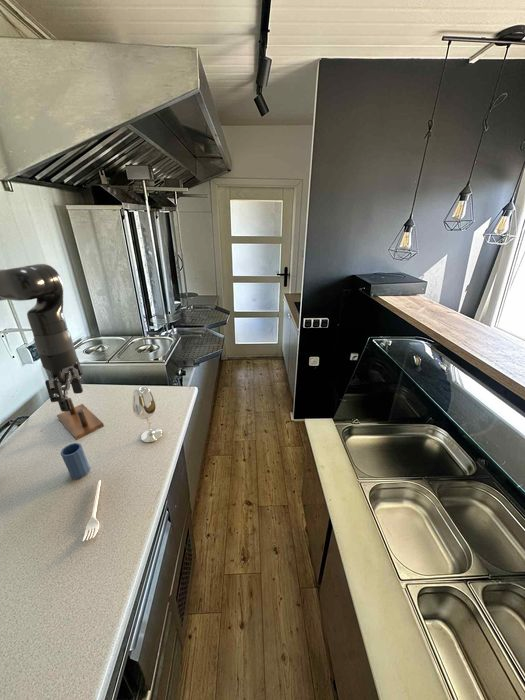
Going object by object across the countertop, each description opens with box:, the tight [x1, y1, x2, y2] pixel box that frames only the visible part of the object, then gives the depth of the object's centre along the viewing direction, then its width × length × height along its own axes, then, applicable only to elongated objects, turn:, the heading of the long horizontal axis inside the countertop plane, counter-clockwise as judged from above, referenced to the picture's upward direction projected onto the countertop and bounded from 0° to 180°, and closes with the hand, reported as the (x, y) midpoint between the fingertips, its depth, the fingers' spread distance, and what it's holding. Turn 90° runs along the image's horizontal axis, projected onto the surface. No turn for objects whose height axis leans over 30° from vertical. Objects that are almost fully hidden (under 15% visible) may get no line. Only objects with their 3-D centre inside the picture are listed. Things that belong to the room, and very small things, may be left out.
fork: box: [82, 479, 102, 542], centre depth 81 cm, size 3×20×2 cm, turn 20°
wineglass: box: [131, 386, 163, 443], centre depth 104 cm, size 8×8×20 cm
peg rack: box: [56, 397, 105, 441], centre depth 114 cm, size 10×20×8 cm, turn 50°
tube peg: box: [60, 442, 91, 480], centre depth 91 cm, size 5×5×10 cm
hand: (73, 401), depth 78 cm, fingers open, 8 cm apart
